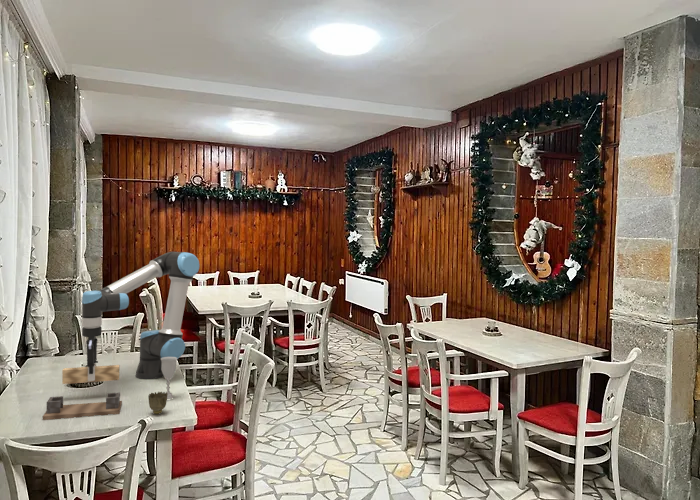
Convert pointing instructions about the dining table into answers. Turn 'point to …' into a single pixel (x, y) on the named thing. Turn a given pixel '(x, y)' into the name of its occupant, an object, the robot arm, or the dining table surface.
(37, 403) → the dining table surface
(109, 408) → the cradle
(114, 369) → the slat
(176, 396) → the dining table surface
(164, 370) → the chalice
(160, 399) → the cup
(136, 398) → the dining table surface
